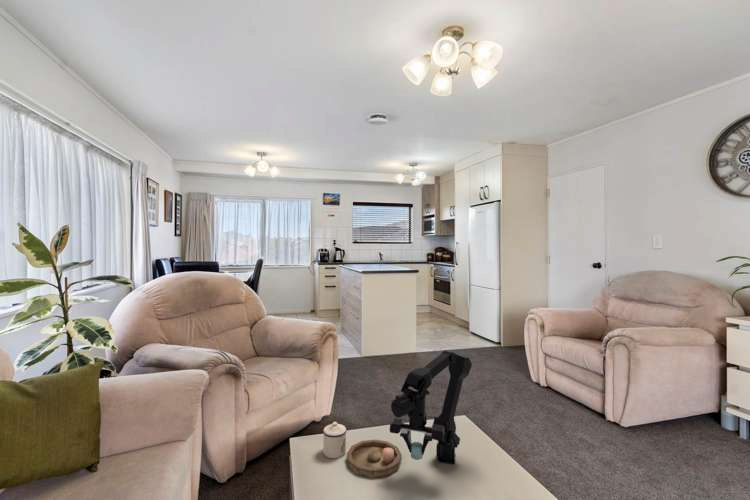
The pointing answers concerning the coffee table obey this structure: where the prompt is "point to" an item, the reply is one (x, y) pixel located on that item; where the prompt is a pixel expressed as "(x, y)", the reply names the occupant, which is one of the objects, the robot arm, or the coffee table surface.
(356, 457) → the ring tray
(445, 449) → the robot arm
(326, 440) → the teacup with lid
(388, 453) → the bead terracotta
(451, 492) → the coffee table surface
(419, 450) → the bead teal
